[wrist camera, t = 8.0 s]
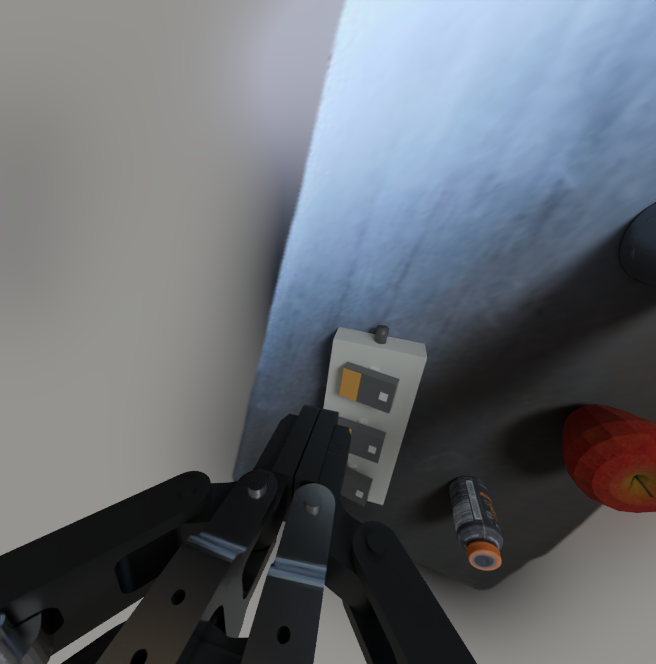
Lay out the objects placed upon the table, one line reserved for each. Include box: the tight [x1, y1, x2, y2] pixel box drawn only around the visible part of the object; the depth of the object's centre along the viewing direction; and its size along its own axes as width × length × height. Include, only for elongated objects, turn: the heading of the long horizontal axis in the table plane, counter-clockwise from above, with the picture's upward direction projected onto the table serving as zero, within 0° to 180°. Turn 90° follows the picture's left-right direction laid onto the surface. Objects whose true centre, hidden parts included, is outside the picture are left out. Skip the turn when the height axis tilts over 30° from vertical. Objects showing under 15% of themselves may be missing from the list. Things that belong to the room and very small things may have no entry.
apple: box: [562, 404, 656, 513], centre depth 36 cm, size 11×11×12 cm
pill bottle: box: [449, 477, 503, 570], centre depth 45 cm, size 6×6×11 cm
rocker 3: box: [341, 467, 373, 507], centre depth 47 cm, size 7×4×2 cm, turn 83°
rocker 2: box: [338, 416, 386, 464], centre depth 43 cm, size 7×4×2 cm, turn 83°
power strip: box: [323, 325, 427, 505], centre depth 46 cm, size 12×30×4 cm, turn 173°
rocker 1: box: [339, 362, 400, 414], centre depth 39 cm, size 7×4×2 cm, turn 83°
